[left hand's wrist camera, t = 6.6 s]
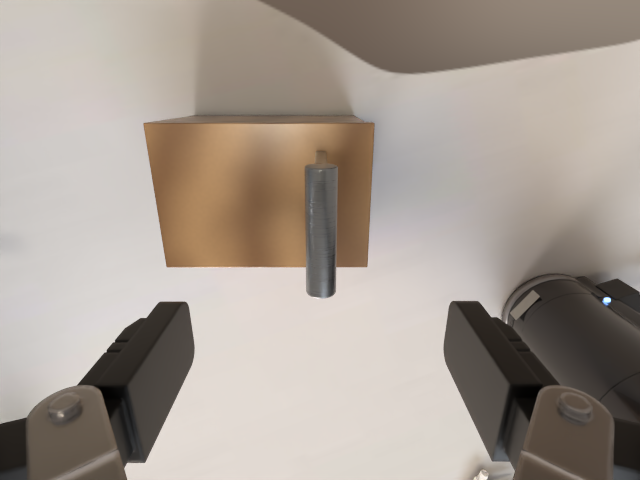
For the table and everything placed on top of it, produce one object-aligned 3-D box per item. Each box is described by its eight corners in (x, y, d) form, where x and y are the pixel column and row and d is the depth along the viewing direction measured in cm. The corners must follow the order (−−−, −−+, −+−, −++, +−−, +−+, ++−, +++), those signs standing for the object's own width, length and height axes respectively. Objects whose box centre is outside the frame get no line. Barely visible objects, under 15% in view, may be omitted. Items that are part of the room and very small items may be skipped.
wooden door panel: (372, 121, 25) (397, 133, 17) (365, 261, 28) (383, 324, 21) (149, 121, 25) (71, 133, 17) (171, 261, 28) (115, 324, 21)
